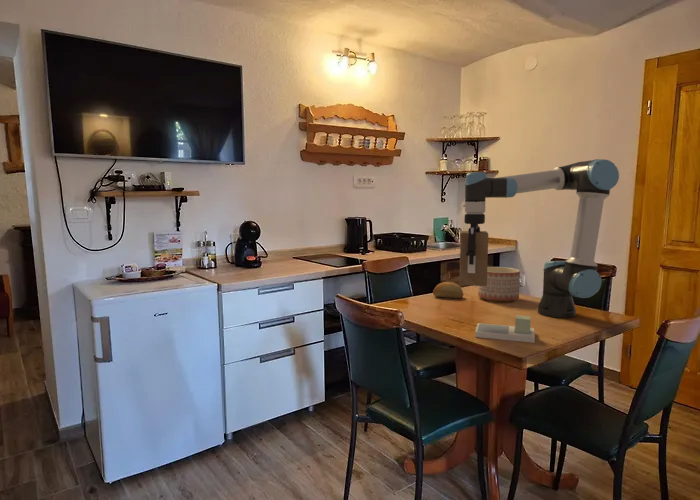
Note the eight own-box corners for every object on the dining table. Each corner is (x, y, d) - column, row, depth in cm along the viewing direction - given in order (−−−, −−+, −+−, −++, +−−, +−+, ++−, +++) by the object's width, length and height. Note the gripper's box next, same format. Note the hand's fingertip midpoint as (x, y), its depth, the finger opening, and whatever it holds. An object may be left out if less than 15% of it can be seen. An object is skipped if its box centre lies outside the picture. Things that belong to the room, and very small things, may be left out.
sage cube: (529, 329, 168) (530, 316, 168) (529, 333, 164) (530, 319, 163) (515, 328, 170) (515, 315, 169) (514, 332, 165) (515, 318, 165)
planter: (524, 298, 230) (526, 269, 229) (509, 305, 216) (510, 274, 214) (488, 293, 243) (489, 265, 241) (471, 299, 229) (472, 269, 227)
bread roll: (433, 294, 240) (433, 279, 240) (463, 296, 237) (463, 280, 236) (432, 298, 231) (432, 282, 230) (463, 300, 227) (463, 284, 227)
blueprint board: (533, 333, 171) (533, 327, 171) (534, 342, 160) (534, 336, 160) (477, 328, 178) (477, 322, 178) (474, 336, 167) (474, 331, 167)
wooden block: (486, 286, 174) (488, 233, 171) (459, 285, 176) (460, 232, 174) (485, 281, 183) (486, 231, 181) (459, 280, 185) (460, 230, 183)
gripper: (468, 212, 188) (467, 266, 191) (460, 214, 167) (458, 274, 170) (487, 212, 186) (486, 267, 188) (481, 214, 164) (479, 275, 167)
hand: (473, 270), depth 179 cm, fingers closed on wooden block, 10 cm apart
